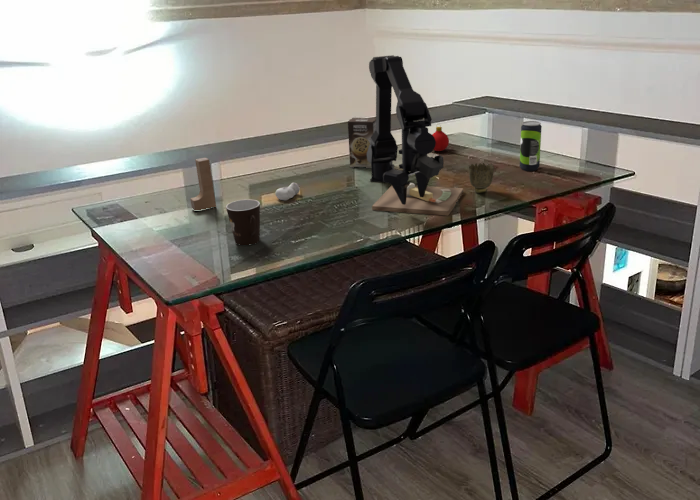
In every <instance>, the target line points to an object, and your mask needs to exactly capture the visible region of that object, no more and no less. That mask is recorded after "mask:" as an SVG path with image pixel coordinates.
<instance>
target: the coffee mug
mask: <svg viewBox="0 0 700 500" xmlns="http://www.w3.org/2000/svg"><path fill="white" fill-rule="evenodd" d="M225 209H226V212H227V216H228V219H229V224H230V228H231V232H232V235H233V239H234V242H235V244H236V243H237V244H240V245H249V244H253V245H256V244H258V243H259V242H260V241H261V219H260V218H261V203H260V201H259V200H256V199H249V198H248V199H244V198H243V199H238V200H234V201H231V202H229V203H227V204H226V206H225ZM255 243H256V244H255ZM237 244H236V245H237ZM240 245H239V246H240ZM249 246H250V245H249Z"/></svg>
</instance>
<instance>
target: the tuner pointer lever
mask: <svg viewBox="0 0 700 500" xmlns="http://www.w3.org/2000/svg"><path fill="white" fill-rule="evenodd" d="M415 186H416V184H415V183H414V182H410V184H409V186H408V187H407V196H410V195H411V196H414V197H417V198H420V199H423V200H425V201H432V202H436V199H433V193H431V192H428V191H425V194H424V197H420V195H419V192H418V188H415Z"/></svg>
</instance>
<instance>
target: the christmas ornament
mask: <svg viewBox="0 0 700 500" xmlns="http://www.w3.org/2000/svg"><path fill="white" fill-rule="evenodd" d="M438 125H439V123H437V125H436V127H435V132H433V133H431V134H432V135H433V136H434V138H435V141H436V145H435V148H434V149H433V151H435V152H442V151H445V150H446V149H447V148H448V147H449V144H450V139H449V136H448V135H447V134H446V133H445V132H444V131H443V130H442V129H443V127H441V126H438Z"/></svg>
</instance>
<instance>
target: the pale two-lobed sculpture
mask: <svg viewBox="0 0 700 500" xmlns="http://www.w3.org/2000/svg"><path fill="white" fill-rule="evenodd" d="M300 189H301V188H300V186H299V184H298V183H296V182H291V183H290V185H289V186H283V187H279V188H278V189H276V190H275V196H276V198H277V199H279V200H280V201H288V200H290V199H291V198H294V196H296V195H298V194H299V193H300Z"/></svg>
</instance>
